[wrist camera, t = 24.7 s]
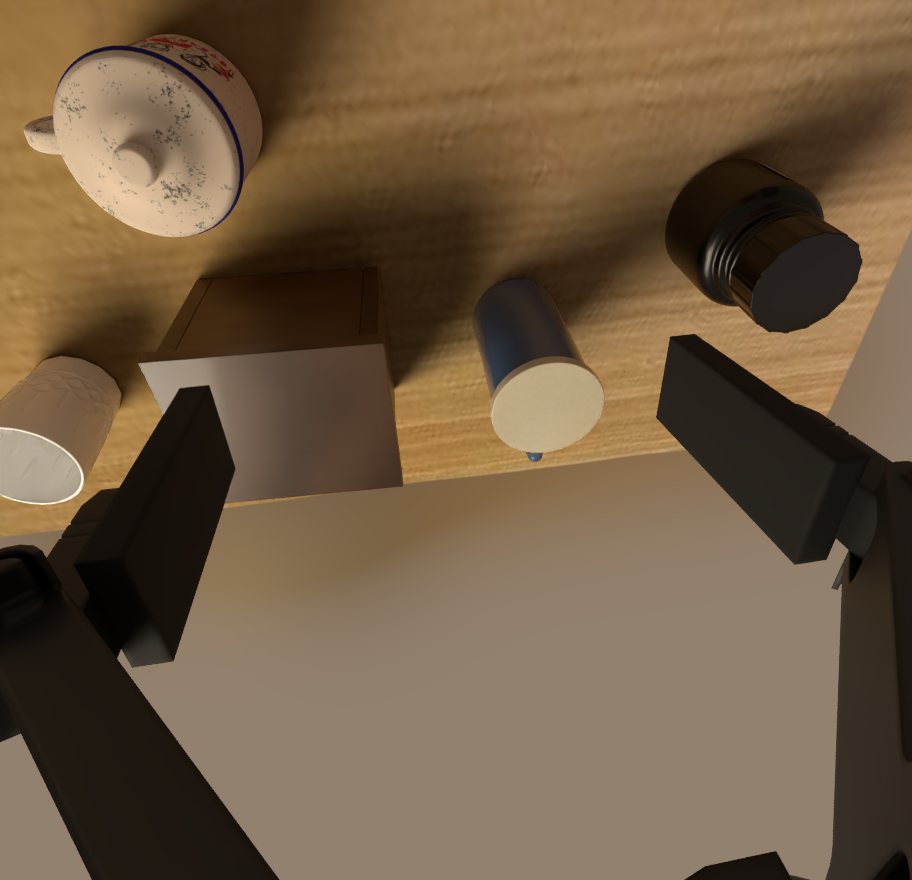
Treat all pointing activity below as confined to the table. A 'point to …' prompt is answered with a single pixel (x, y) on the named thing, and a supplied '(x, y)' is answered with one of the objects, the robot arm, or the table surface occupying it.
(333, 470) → the brown miniature bookshelf
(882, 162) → the table surface
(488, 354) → the blue lidded mug
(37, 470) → the white cup
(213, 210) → the teacup with lid
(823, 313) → the ink bottle
